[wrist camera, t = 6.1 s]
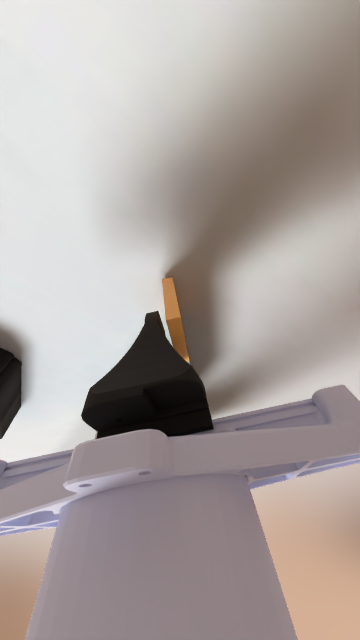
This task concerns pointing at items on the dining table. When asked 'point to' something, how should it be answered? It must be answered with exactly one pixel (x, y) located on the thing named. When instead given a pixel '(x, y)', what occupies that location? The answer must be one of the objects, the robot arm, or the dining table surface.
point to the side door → (174, 318)
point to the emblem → (9, 389)
